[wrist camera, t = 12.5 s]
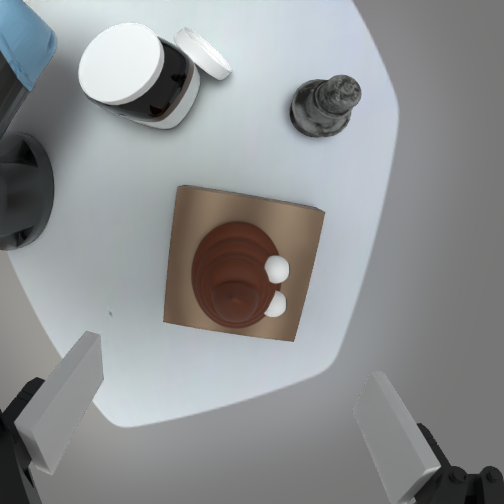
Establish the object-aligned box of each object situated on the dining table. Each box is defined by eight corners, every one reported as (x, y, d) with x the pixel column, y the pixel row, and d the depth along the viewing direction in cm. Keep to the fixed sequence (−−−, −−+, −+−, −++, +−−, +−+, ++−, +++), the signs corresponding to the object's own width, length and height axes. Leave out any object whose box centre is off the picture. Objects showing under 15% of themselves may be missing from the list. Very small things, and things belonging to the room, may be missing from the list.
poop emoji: (194, 218, 29) (173, 240, 20) (286, 221, 29) (305, 245, 20) (195, 315, 31) (179, 368, 22) (278, 318, 32) (291, 372, 23)
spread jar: (104, 110, 29) (48, 90, 18) (150, 26, 27) (116, -23, 16) (197, 148, 31) (173, 136, 20) (245, 58, 29) (246, 7, 17)
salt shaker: (344, 138, 31) (394, 124, 19) (291, 142, 31) (318, 127, 19) (335, 87, 30) (379, 51, 18) (283, 89, 30) (304, 49, 18)
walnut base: (170, 306, 35) (163, 321, 31) (185, 184, 32) (177, 186, 28) (288, 324, 36) (293, 341, 32) (315, 207, 33) (325, 212, 29)
